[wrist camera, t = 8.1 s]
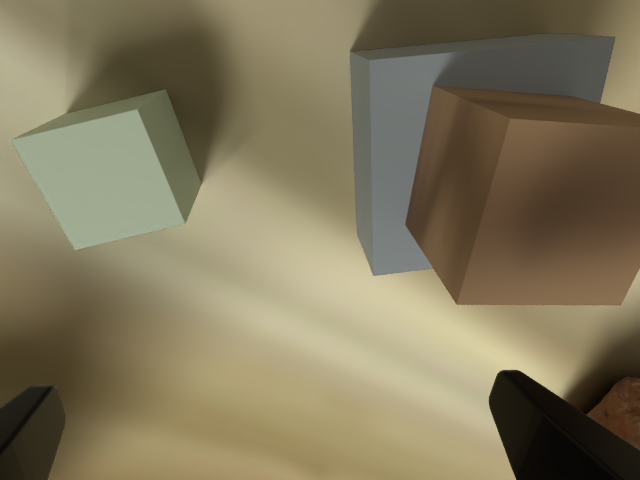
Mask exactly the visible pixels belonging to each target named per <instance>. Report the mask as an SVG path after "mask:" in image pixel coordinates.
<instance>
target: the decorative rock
mask: <svg viewBox="0 0 640 480" xmlns="http://www.w3.org/2000/svg"><path fill="white" fill-rule="evenodd" d="M586 415H587V416H589V417H591V418H592V419H594V420H595V421H597V422H598V423H600V424H601V425H603V426H604V427H606V428H607V429H609V430H610V431H612V432H613V433H615V434H616V435H618V436H619V437H621V438H622V439H624V440H625V441H627V442H628V443H630V444H631V445H633V446H634V447H636V448H637V449H639V450H640V379H639V378H634V377H628V376H627V377H625V378H624V379H622V380H620V381H619V382H617V383H615V384H614V385H613V387H612V388H611V390H610V391H609V392H608V393H607V394H606V395H605V397H604V398H603V399H602V401H601V402H600V403H599V404H598V405H597V406H595V407H594V408H593V409H592V410H591V411H590V412H589V413H588V414H586Z"/></svg>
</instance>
